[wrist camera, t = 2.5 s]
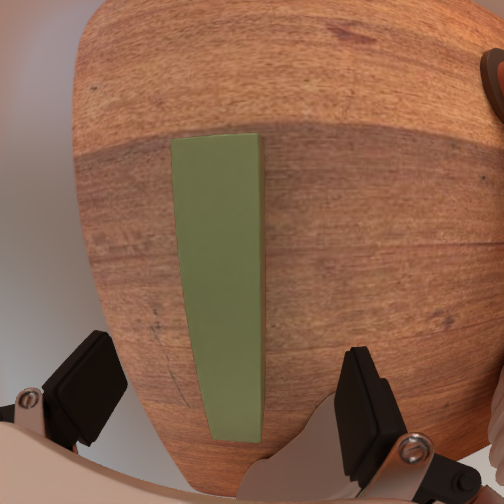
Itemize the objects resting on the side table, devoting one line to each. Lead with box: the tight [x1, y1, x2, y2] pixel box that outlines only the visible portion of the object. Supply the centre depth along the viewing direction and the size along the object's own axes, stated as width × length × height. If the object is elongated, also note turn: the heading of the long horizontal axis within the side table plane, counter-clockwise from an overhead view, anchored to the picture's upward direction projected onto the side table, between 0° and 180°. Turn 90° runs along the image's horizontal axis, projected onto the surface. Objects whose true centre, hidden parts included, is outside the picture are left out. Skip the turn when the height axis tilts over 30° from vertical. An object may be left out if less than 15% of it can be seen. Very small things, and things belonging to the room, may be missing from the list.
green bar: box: [171, 133, 266, 443], centre depth 13 cm, size 3×16×4 cm, turn 1°
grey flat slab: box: [236, 392, 361, 502], centre depth 15 cm, size 20×2×8 cm, turn 156°
